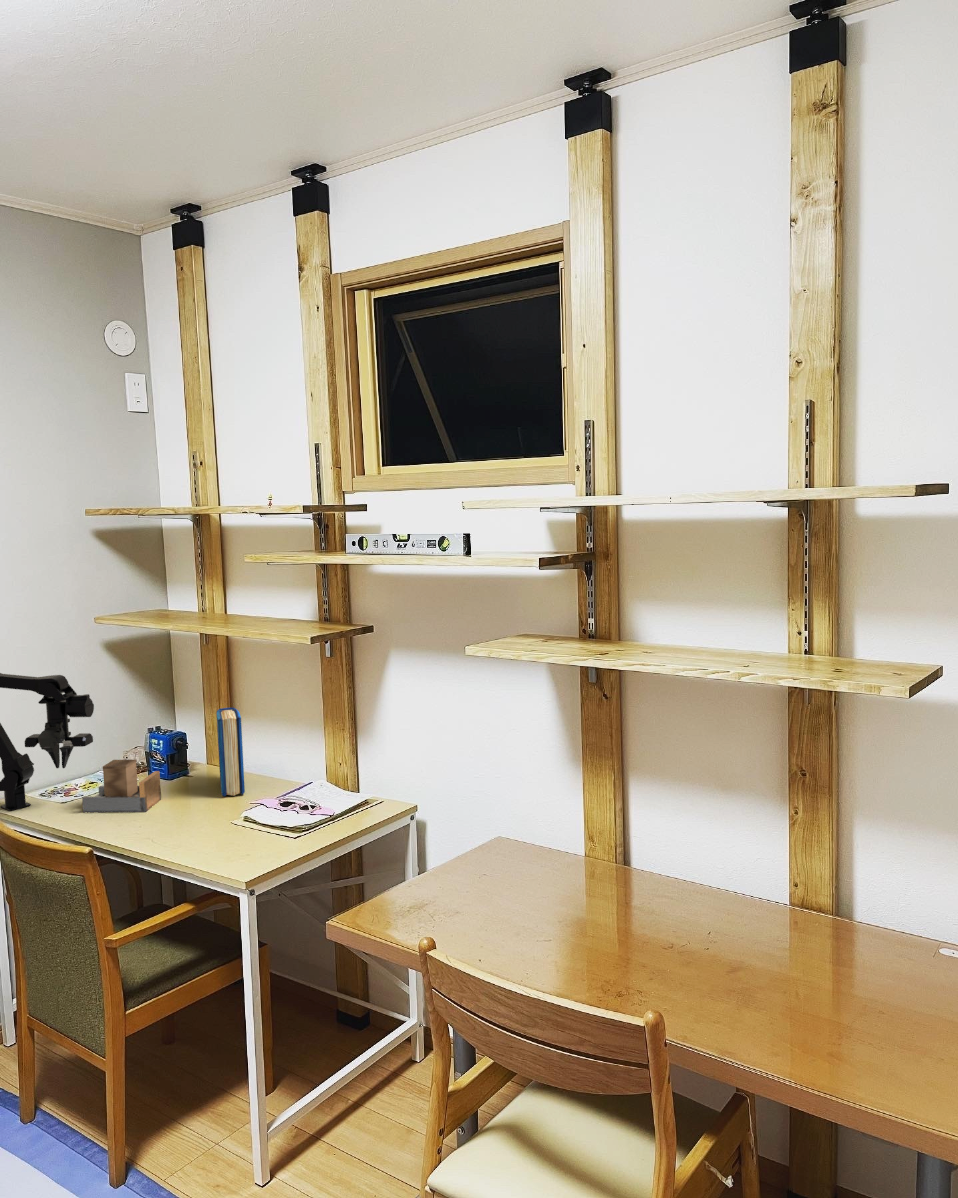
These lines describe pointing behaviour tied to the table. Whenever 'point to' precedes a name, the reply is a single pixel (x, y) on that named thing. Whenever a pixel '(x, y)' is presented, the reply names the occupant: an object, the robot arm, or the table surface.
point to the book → (230, 751)
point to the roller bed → (127, 798)
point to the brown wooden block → (120, 778)
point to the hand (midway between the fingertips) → (60, 768)
